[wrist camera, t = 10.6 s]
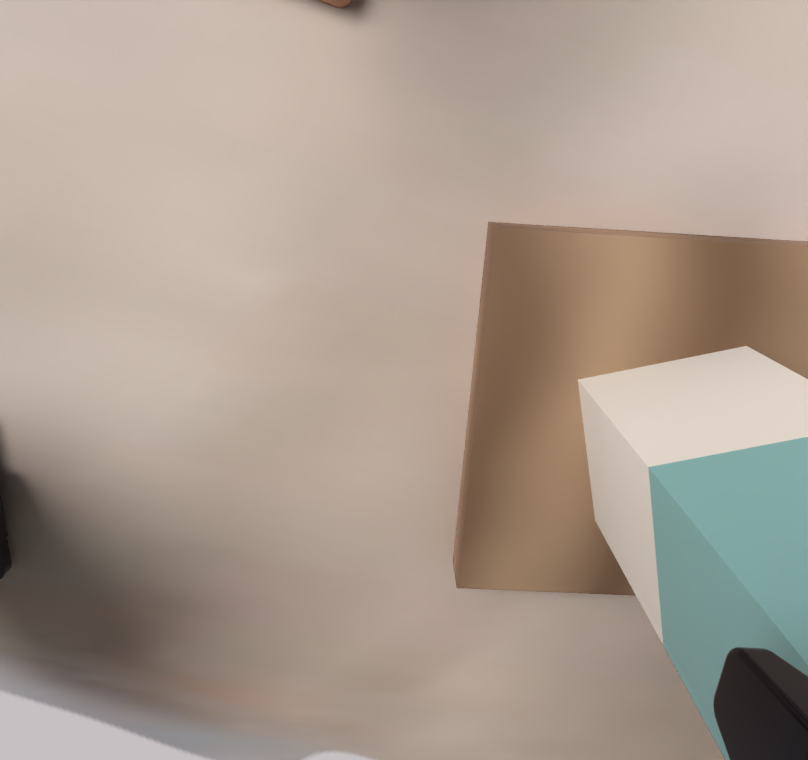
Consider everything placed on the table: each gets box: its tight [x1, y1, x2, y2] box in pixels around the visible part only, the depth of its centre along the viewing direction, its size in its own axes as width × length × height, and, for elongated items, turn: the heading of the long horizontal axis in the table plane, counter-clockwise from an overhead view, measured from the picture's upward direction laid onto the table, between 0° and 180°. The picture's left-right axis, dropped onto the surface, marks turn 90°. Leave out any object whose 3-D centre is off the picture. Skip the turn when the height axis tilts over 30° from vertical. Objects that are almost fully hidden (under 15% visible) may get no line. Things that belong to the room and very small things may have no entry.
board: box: [453, 222, 808, 595], centre depth 20 cm, size 12×12×2 cm
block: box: [578, 346, 808, 760], centre depth 14 cm, size 5×5×11 cm
